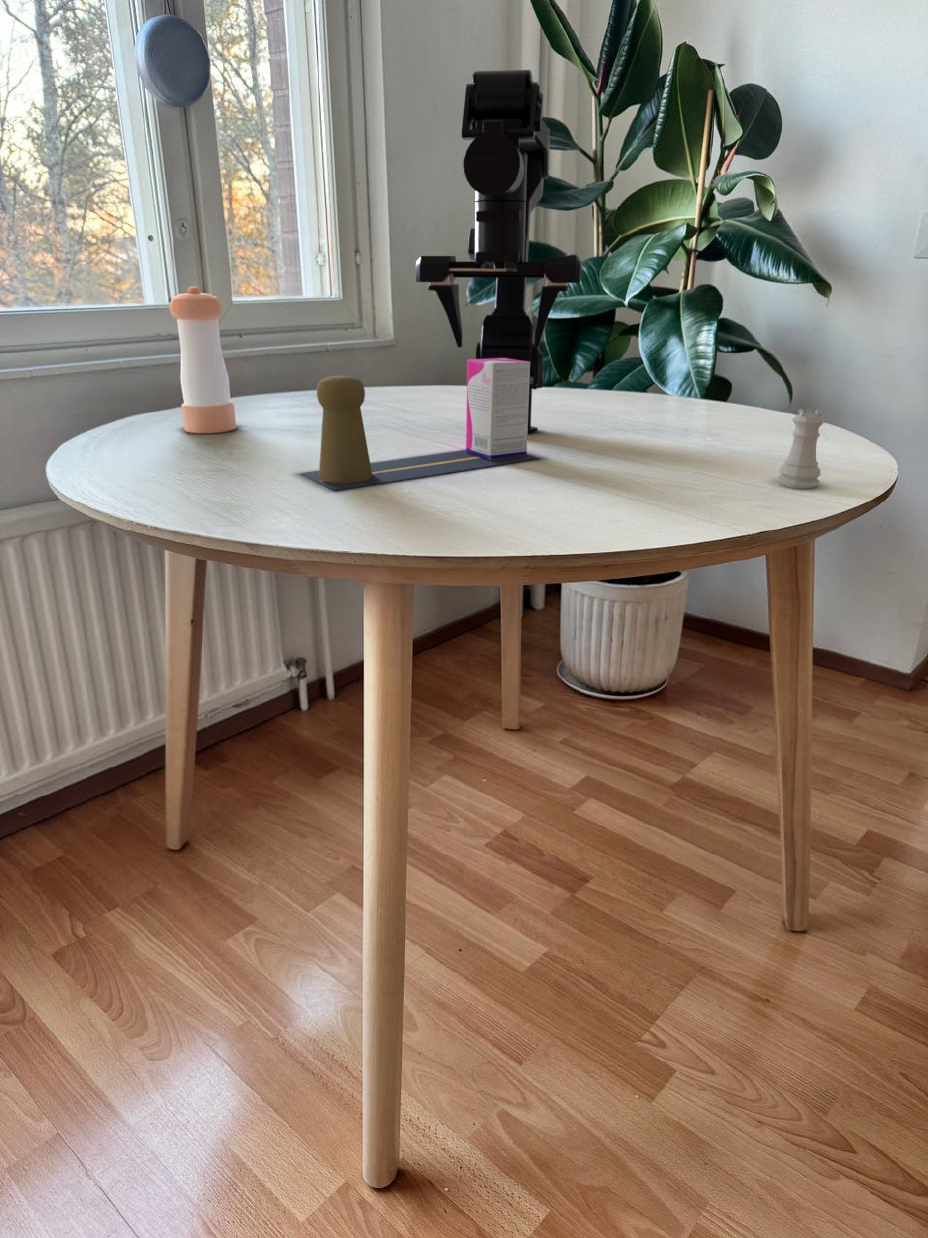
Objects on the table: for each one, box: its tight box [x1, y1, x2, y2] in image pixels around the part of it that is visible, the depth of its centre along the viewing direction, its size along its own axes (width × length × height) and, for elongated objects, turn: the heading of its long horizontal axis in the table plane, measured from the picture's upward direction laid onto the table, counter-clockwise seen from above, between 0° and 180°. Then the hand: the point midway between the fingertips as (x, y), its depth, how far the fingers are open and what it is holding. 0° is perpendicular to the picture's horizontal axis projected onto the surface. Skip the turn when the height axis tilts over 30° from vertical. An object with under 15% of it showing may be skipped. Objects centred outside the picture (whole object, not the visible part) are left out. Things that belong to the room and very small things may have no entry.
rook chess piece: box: [776, 408, 826, 490], centre depth 90 cm, size 4×4×8 cm
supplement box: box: [465, 358, 531, 460], centre depth 103 cm, size 6×6×12 cm
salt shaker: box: [169, 286, 237, 434], centre depth 117 cm, size 7×7×19 cm
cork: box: [316, 374, 372, 483], centre depth 92 cm, size 6×6×11 cm
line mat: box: [300, 449, 541, 492], centre depth 99 cm, size 28×9×1 cm, turn 124°
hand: (497, 347), depth 100 cm, fingers open, 9 cm apart
